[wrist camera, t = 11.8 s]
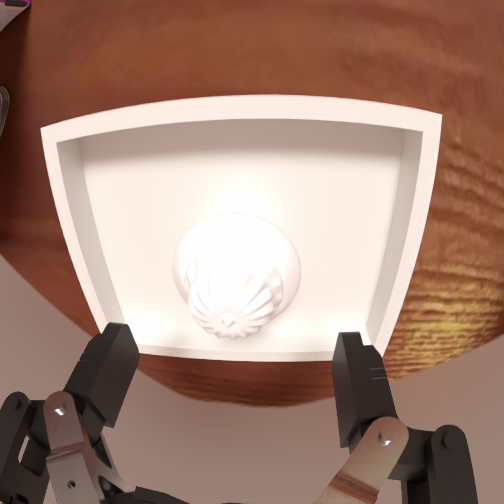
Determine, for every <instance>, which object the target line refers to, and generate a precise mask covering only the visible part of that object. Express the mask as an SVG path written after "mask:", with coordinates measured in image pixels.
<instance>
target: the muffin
mask: <svg viewBox="0 0 504 504" xmlns="http://www.w3.org/2000/svg"><path fill="white" fill-rule="evenodd" d="M172 270H173V277H174V281H175V284H176V287H177V289H178V291H179V293H180V295H181V297H182V298H183V300H184V301H185V303H186V304H187V305H188V307H189V309H190V311H191V313H192V317H193V319H194V321H195V322H196V323H197V324H198V325H199V326H201V327H202V328H203V329H204V330H205V331H206V332H207V333H209V334H215V335H216V336H217V337H218V338H224V337H229V338H230V339H231V340H234V339H236V338H237V337H242V338H247V337H248V336H249V333H253V334H255V333H259V332H260V330H261V326H263V325H266V324H268V323H269V321H270V320H272V319H273V318H275V317H277V316H278V315H280V314H281V313H282V312H283V311H284V310H285V309H286V308H287V307H288V306H289V305H290V303H291V302H292V301H293V299H294V297H295V295H296V293H297V291H298V288H299V284H300V279H301V262H300V258H299V255H298V252H297V250H296V248H295V246H294V244H293V243H292V241H291V240H290V238H289V237H288V236H287V235H286V234H285V233H284V231H283V230H281V229H280V228H279V227H278V226H277V225H275V223H274V222H270V221H269V220H266V219H265V217H264V216H256V215H255V213H254V212H252V213H250V214H247V213H244V211H243V210H241V211H239V212H238V213H237V212H234V211H232V210H229V211H228V212H227V213H223V212H218V214H217V215H213V216H208V217H207V218H204V219H202V220H200V221H198V222H197V223H195V224H194V225H192V226H191V227H190V228H189V229H188V230H187V231H186V232H185V234H184V235H183V236H182V238H181V239H180V241H179V243H178V245H177V248H176V251H175V254H174V258H173V266H172Z"/></svg>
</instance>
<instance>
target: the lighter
mask: <svg viewBox="0 0 504 504" xmlns="http://www.w3.org/2000/svg"><path fill="white" fill-rule="evenodd" d="M9 103H10V102H9V95H8V92H7V90H6V89H5V88H4V87H2V86H0V137H1V134H2V130H3V127H4V123H5V120H6V116H7V112H8V108H9Z"/></svg>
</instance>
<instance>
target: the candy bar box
mask: <svg viewBox="0 0 504 504" xmlns="http://www.w3.org/2000/svg"><path fill="white" fill-rule="evenodd" d="M29 5H30V0H0V33H1V32H2V31H3V30H4V28H5V27H6V26H7V25H8V24H9V23H10V22H11V21H12V20H13V19H15V18H16V17H17V16H18V15H19V14H20V13H21V12H22V11H23V10H25V9H26V8H27V7H28V6H29Z"/></svg>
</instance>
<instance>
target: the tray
mask: <svg viewBox="0 0 504 504" xmlns="http://www.w3.org/2000/svg"><path fill="white" fill-rule="evenodd" d="M441 121H442V115H441V114H437V113H433V112H429V111H425V110H421V109H417V108H411V107H406V106H400V105H394V104H388V103H381V102H373V101H365V100H357V99H347V98H336V97H323V96H305V95H231V96H213V97H200V98H188V99H179V100H170V101H162V102H155V103H148V104H141V105H135V106H129V107H123V108H118V109H113V110H108V111H103V112H98V113H93V114H89V115H85V116H81V117H76V118H72V119H69V120H65V121H62V122H59V123H55V124H52V125H49V126H46V127H43V128H41V135H42V141H43V147H44V153H45V159H46V164H47V169H48V174H49V179H50V184H51V188H52V192H53V197H54V201H55V205H56V208H57V212H58V216H59V220H60V223H61V227H62V230H63V234H64V237H65V240H66V243H67V247H68V250H69V253H70V256H71V259H72V262H73V265H74V268H75V270H76V273H77V276H78V279H79V281H80V284H81V287H82V289H83V292H84V294H85V297H86V299H87V302H88V304H89V307H90V309H91V312H92V314H93V316H94V319H95V321H96V323H97V325H98V328H99V330H100V332H101V334H102V332H103V331H104V329H105V327H106V325H107V324H108V323H109V322H115V323H124V324H128V325H129V327H130V330H131V332H132V335H133V337H134V340H135V342H136V344H137V347H138V349H139V353H145V354H154V355H163V356H174V357H185V358H198V359H213V360H234V361H328V360H332V359H333V354H334V350H335V346H336V341H337V337H338V333H339V332H355V331H359V332H360V334H361V337H362V341H363V345H373V346H374V347H375V348H376V350H377V351H378V352H379V353H380V354H381V357H383V354H384V352H385V349H386V347H387V344H388V342H389V339H390V337H391V334H392V332H393V329H394V326H395V324H396V321H397V318H398V315H399V313H400V310H401V307H402V304H403V301H404V298H405V295H406V292H407V289H408V285H409V282H410V279H411V276H412V272H413V269H414V265H415V262H416V258H417V255H418V251H419V247H420V243H421V239H422V235H423V231H424V227H425V223H426V218H427V213H428V209H429V204H430V199H431V194H432V188H433V183H434V177H435V170H436V164H437V157H438V149H439V141H440V132H441ZM229 210H232V211H234V212H237V213H238V212H239V211H241V210H243V211H244V213H247V214H250V213H252V212H254V213H255V215H256V216H264V217H265V219H266V220H269V221H270V222H274V223H275V225H277V226H278V227H279V228H280V229H281V230H283V231H284V233H285V234H286V235H287V236H288V237H289V238H290V240H291V241H292V243H293V244H294V246H295V248H296V250H297V252H298V255H299V258H300V262H301V279H300V284H299V288H298V291H297V293H296V295H295V297H294V299H293V301H292V302H291V303H290V305H289V306H288V307H287V308H286V309H285V310H284V311H283V312H282V313H281V314H280V315H278V316H277V317H275V318H273V319H272V320H270V321H269V323H268V324H266V325H263V326H261V330H260V332H259V333H255V334H253V333H249V336H248V337H247V338H242V337H237V338H236V339H234V340H231V339H230V338H229V337H224V338H218V337H217V336H216V335H215V334H209V333H207V332H206V331H205V330H204V329H203V328H202V327H201V326H199V325H198V324H197V323H196V322H195V321H194V319H193V317H192V313H191V311H190V309H189V307H188V305H187V304H186V303H185V301H184V300H183V298H182V297H181V295H180V293H179V291H178V289H177V287H176V284H175V281H174V277H173V270H172V266H173V258H174V254H175V251H176V248H177V245H178V243H179V241H180V239H181V238H182V236H183V235H184V234H185V232H186V231H187V230H188V229H189V228H190V227H191V226H192V225H194V224H195V223H197V222H198V221H200V220H202V219H204V218H207V217H208V216H213V215H217V214H218V212H223V213H227V212H228V211H229Z"/></svg>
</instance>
